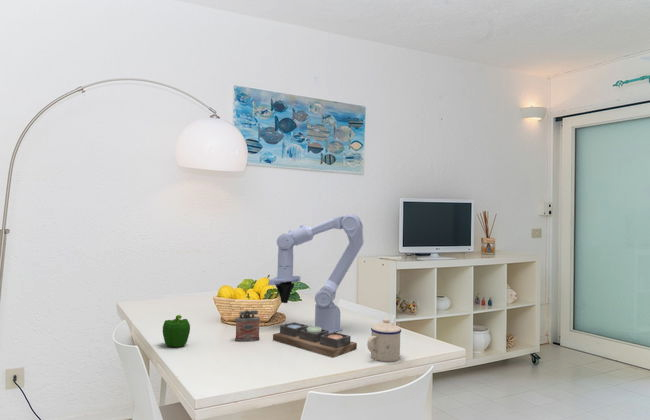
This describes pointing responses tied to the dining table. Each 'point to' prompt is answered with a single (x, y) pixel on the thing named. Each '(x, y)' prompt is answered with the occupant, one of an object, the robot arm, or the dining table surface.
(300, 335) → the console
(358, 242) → the robot arm
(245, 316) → the lighter
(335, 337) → the button terracotta
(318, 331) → the button sage
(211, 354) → the dining table surface
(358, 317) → the dining table surface
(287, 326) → the button slate
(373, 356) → the teacup with lid
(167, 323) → the bell pepper
